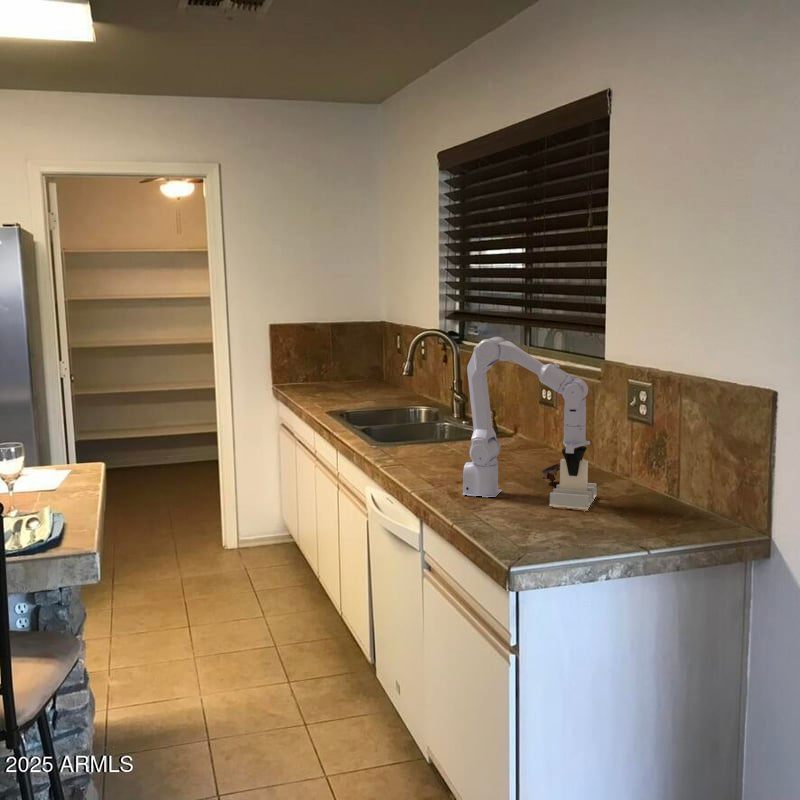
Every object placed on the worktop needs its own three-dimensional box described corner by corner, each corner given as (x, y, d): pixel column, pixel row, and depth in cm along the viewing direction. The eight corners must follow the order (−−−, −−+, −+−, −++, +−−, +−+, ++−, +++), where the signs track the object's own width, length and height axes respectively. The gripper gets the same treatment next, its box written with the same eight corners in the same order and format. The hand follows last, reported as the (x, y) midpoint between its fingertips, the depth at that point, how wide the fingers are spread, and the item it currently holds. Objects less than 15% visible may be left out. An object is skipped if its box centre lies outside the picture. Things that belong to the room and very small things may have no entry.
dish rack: (549, 508, 229) (549, 493, 228) (560, 494, 242) (560, 480, 242) (587, 511, 225) (587, 496, 224) (596, 497, 239) (596, 483, 238)
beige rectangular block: (559, 489, 234) (560, 460, 232) (561, 487, 236) (561, 458, 234) (586, 491, 231) (586, 462, 230) (587, 489, 233) (588, 460, 232)
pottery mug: (559, 493, 246) (546, 467, 247) (545, 500, 254) (533, 474, 256) (593, 478, 250) (580, 452, 252) (578, 485, 259) (566, 460, 260)
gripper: (585, 430, 222) (584, 481, 224) (594, 420, 236) (593, 469, 238) (558, 428, 225) (557, 479, 227) (568, 419, 238) (567, 467, 240)
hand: (574, 474), depth 233 cm, fingers closed on beige rectangular block, 2 cm apart
